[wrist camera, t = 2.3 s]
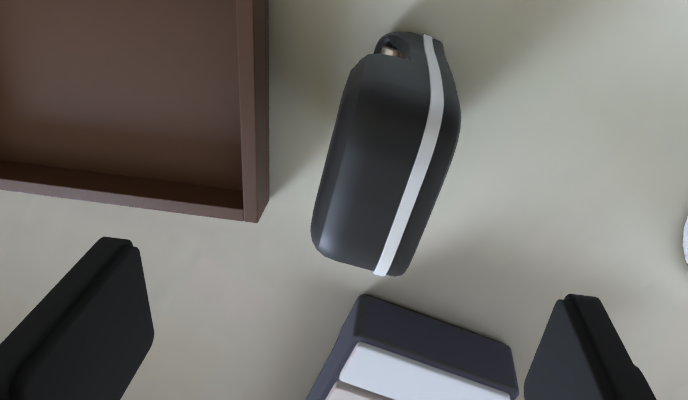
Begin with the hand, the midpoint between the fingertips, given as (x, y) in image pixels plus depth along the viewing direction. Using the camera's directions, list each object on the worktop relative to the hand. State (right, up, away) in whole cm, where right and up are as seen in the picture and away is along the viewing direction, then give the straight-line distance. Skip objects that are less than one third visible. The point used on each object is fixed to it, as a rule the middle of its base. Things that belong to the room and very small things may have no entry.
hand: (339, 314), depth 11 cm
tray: (-13, +9, +15) cm, 22 cm away
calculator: (+4, -11, +25) cm, 28 cm away
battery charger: (+2, +8, +14) cm, 16 cm away
